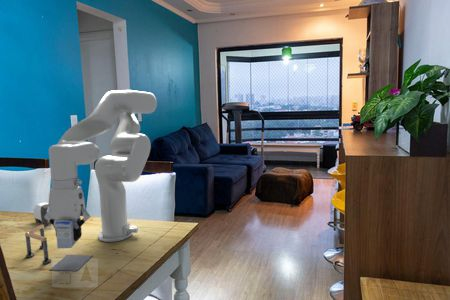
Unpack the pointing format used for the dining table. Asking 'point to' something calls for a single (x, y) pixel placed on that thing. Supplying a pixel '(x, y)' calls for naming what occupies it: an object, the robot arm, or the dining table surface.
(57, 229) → the medicine box
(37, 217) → the giant panda
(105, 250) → the dining table surface
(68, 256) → the mat
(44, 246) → the wooden l-shaped stand
